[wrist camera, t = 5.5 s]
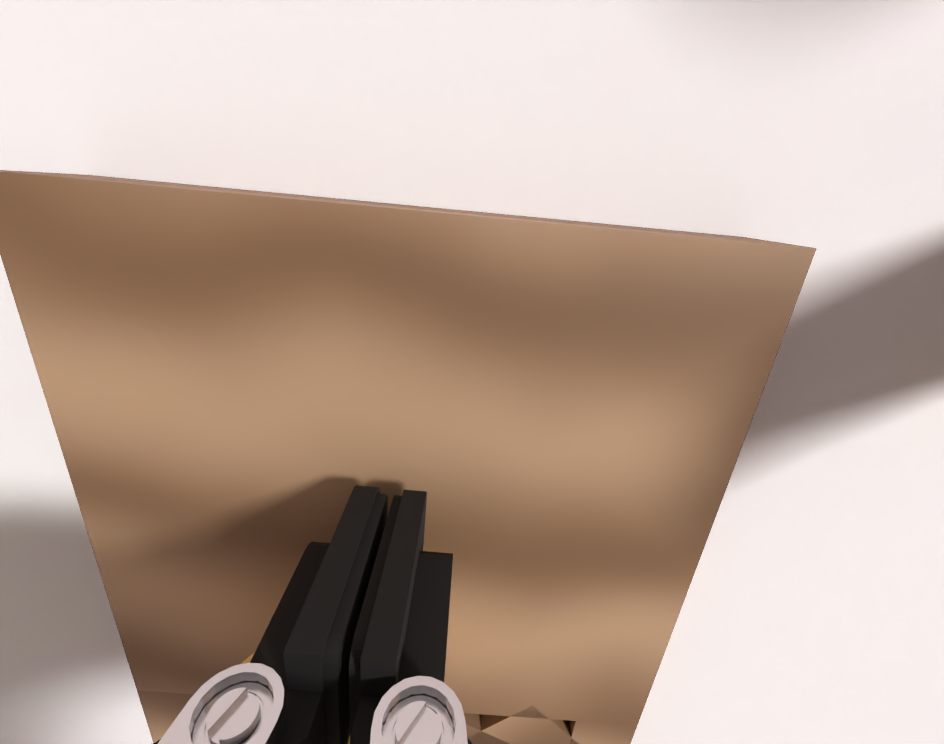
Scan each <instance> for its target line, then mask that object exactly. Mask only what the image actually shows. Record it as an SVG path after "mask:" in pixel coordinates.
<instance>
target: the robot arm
mask: <svg viewBox="0 0 944 744" xmlns="http://www.w3.org/2000/svg"><path fill="white" fill-rule="evenodd" d="M426 502H427V491H416V490H405V489H404V490H403V494H402V496H400V495H394V496H393V500H392V503H391V507H390V510H389V514H388V517H387V506H388V496H387V494H380V488H379V487H371V486H359V485H356V486H354V488H353V490H352V493H351V495H350V497H349V500H348V502H347V505H346V507H345V509H344V512H343V514H342V516H341V519H340V521H339V523H338V526H337V528H336V530H335V533H334V535H333V537H332V540H331V542H330V543H323V542H310V543H309V544H308V546H307V547H306V549H305V551H304V553H303V555H302V557H301V559H300V561H299V563H298V565H297V567H296V569H295V571H294V573H293V576H292V578H291V580H290V582H289V584H288V586H287V588H286V590H285V592H284V594H283V596H282V598H281V600H280V602H279V604H278V606H277V608H276V610H275V612H274V614H273V616H272V618H271V620H270V623H269V625H268V627H267V629H266V631H265V633H264V635H263V637H262V639H261V641H260V643H259V645H258V647H257V649H256V651H255V653H254V655H253V657H252V659H251V661H250V663H244V664H240V665H235V666H232V667H230V668H228V669H226V670H224V671H221V672H219V673H217V674H216V675H215V676H213V677H212V678H211V679H209V680H208V681H207V682H205V683H204V684H203V685H202V686H201V687H200V688H199V689H198V690H197V692H196V693H195V694H194V695H193V696H192V697H191V698H190V700H189V701H188V702H187V704H186V705H185V707H184V708H183V709H182V711H181V712H180V713H179V715H178V716H177V718H176V719H175V720H174V722H173V723H172V725H171V726H170V727H169V729H168V730H167V731H166V733H165V734H164V736H163V737H162V738H161V739H160V740H158V741H157V742H155V743H153V744H348V740H349V736H350V744H472V743H471V741H470V740H469V739H468V738H467V731H466V722H465V716H464V712H463V708H462V704H461V703H460V701H459V699H458V698H457V696H456V694H455V692H454V691H453V690H452V689H451V688H449V687H448V686H447V685H446V684H445V683H444V678H445V663H446V649H447V635H448V621H449V606H450V592H451V578H452V563H453V553H441V552H429V551H423V544H424V530H425V516H426Z"/></svg>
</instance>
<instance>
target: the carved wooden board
mask: <svg viewBox="0 0 944 744" xmlns="http://www.w3.org/2000/svg"><path fill="white" fill-rule="evenodd" d="M815 251H816V248H810V247H804V246H797V245H791V244H785V243H778V242H772V241H765V240H759V239H752V238H746V237H737V236H726V235H716V234H705V233H694V232H684V231H673V230H663V229H652V228H642V227H631V226H621V225H610V224H599V223H589V222H578V221H568V220H557V219H547V218H536V217H525V216H515V215H504V214H494V213H483V212H473V211H462V210H452V209H441V208H430V207H420V206H409V205H399V204H388V203H378V202H367V201H356V200H346V199H335V198H325V197H314V196H304V195H293V194H283V193H272V192H261V191H251V190H240V189H230V188H219V187H209V186H198V185H187V184H177V183H166V182H156V181H145V180H135V179H124V178H114V177H103V176H92V175H79V174H60V173H42V172H23V171H5V170H0V255H1V258H2V261H3V264H4V268H5V271H6V274H7V277H8V280H9V284H10V287H11V290H12V293H13V296H14V299H15V303H16V306H17V309H18V312H19V315H20V319H21V322H22V325H23V328H24V331H25V335H26V338H27V341H28V344H29V347H30V350H31V354H32V357H33V360H34V363H35V366H36V370H37V373H38V376H39V379H40V382H41V386H42V389H43V392H44V395H45V398H46V401H47V405H48V408H49V411H50V414H51V417H52V421H53V424H54V427H55V430H56V433H57V437H58V440H59V443H60V446H61V449H62V452H63V456H64V459H65V462H66V465H67V468H68V472H69V475H70V478H71V481H72V484H73V488H74V491H75V494H76V497H77V500H78V503H79V507H80V510H81V513H82V516H83V519H84V523H85V526H86V529H87V532H88V535H89V539H90V542H91V545H92V548H93V551H94V554H95V558H96V561H97V564H98V567H99V570H100V574H101V577H102V580H103V583H104V586H105V590H106V593H107V596H108V599H109V602H110V605H111V609H112V612H113V615H114V618H115V621H116V625H117V628H118V631H119V634H120V637H121V640H122V644H123V647H124V650H125V653H126V656H127V660H128V663H129V666H130V669H131V672H132V676H133V679H134V682H135V685H136V688H137V691H138V695H139V698H140V701H141V704H142V707H143V711H144V714H145V717H146V720H147V723H148V727H149V730H150V733H151V736H152V739H153V742H154V743H155V742H157V741H158V740H160V739H161V738H162V737H163V736H164V734H165V733H166V731H167V730H168V729H169V727H170V726H171V725H172V723H173V722H174V720H175V719H176V718H177V716H178V715H179V713H180V712H181V711H182V709H183V708H184V707H185V705H186V704H187V702H188V701H189V700H190V698H191V697H192V696H193V695H194V694H195V693H196V692H197V690H198V689H199V688H200V687H201V686H202V685H203V684H204V683H205V682H207V681H208V680H209V679H211V678H212V677H213V676H215V675H216V674H217V673H219V672H221V671H224V670H226V669H228V668H230V667H232V666H235V665H240V664H241V663H242V662H243V661H244V660H246V659H247V658H248V657H249V656H250V655H251V654H253V653H254V652H255V651H256V649H257V647H258V645H259V643H260V641H261V639H262V637H263V635H264V633H265V631H266V629H267V627H268V625H269V623H270V620H271V618H272V616H273V614H274V612H275V610H276V608H277V606H278V604H279V602H280V600H281V598H282V596H283V594H284V592H285V590H286V588H287V586H288V584H289V582H290V580H291V578H292V576H293V573H294V571H295V569H296V567H297V565H298V563H299V561H300V559H301V557H302V555H303V553H304V551H305V549H306V547H307V546H308V544H309V543H310V542H323V543H330V542H331V540H332V537H333V535H334V533H335V530H336V528H337V526H338V523H339V521H340V519H341V516H342V514H343V512H344V509H345V507H346V505H347V502H348V500H349V497H350V495H351V493H352V490H353V488H354V486H356V485H359V486H371V487H379V488H380V494H387V496H388V506H387V517H388V514H389V510H390V507H391V503H392V500H393V496H394V495H400V496H402V494H403V490H404V489H405V490H416V491H427V502H426V516H425V530H424V544H423V551H429V552H441V553H453V563H452V578H451V592H450V606H449V621H448V635H447V649H446V663H445V678H444V683H445V684H446V685H447V686H448V687H449V688H451V689H452V690H453V691H454V692H455V694H456V696H457V698H458V699H459V701H460V703H461V704H462V708H463V712H464V716H465V722H466V731H467V738H468V739H469V740H470V741H471V743H472V744H630V743H631V740H632V738H633V735H634V732H635V730H636V727H637V724H638V722H639V719H640V716H641V714H642V711H643V708H644V706H645V703H646V700H647V698H648V695H649V692H650V690H651V687H652V685H653V682H654V679H655V677H656V674H657V671H658V669H659V666H660V663H661V661H662V658H663V655H664V653H665V650H666V647H667V645H668V642H669V639H670V637H671V634H672V631H673V629H674V626H675V623H676V621H677V618H678V615H679V613H680V610H681V607H682V605H683V602H684V599H685V597H686V594H687V591H688V589H689V586H690V583H691V581H692V578H693V575H694V573H695V570H696V567H697V565H698V562H699V559H700V557H701V554H702V552H703V549H704V546H705V544H706V541H707V538H708V536H709V533H710V530H711V528H712V525H713V522H714V520H715V517H716V514H717V512H718V509H719V506H720V504H721V501H722V498H723V496H724V493H725V490H726V488H727V485H728V482H729V480H730V477H731V474H732V472H733V469H734V466H735V464H736V461H737V458H738V456H739V453H740V450H741V448H742V445H743V442H744V440H745V437H746V434H747V432H748V429H749V426H750V424H751V421H752V419H753V416H754V413H755V411H756V408H757V405H758V403H759V400H760V397H761V395H762V392H763V389H764V387H765V384H766V381H767V379H768V376H769V373H770V371H771V368H772V365H773V363H774V360H775V357H776V355H777V352H778V349H779V347H780V344H781V341H782V339H783V336H784V333H785V331H786V328H787V325H788V323H789V320H790V317H791V315H792V312H793V309H794V307H795V304H796V301H797V299H798V296H799V294H800V291H801V288H802V286H803V283H804V280H805V278H806V275H807V272H808V270H809V267H810V264H811V262H812V259H813V256H814V254H815Z"/></svg>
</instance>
